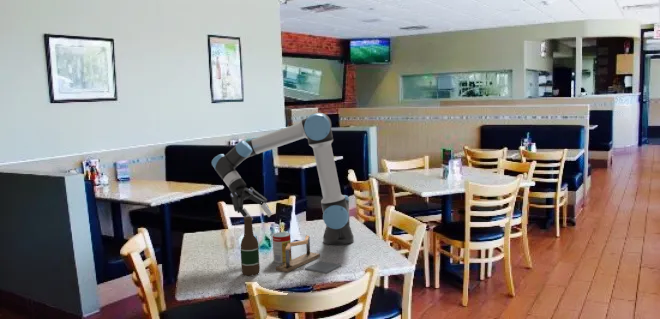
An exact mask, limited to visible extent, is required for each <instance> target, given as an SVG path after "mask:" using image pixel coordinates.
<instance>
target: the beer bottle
mask: <svg viewBox="0 0 660 319" xmlns="http://www.w3.org/2000/svg"><path fill="white" fill-rule="evenodd" d="M250 216H251V215H250ZM250 216H248V217H243V222H244V223H243V227H244V228H243V237H242V239H241V241H240V263H241V273H242V276H245V275H246V277H251V276H252V275H254V276H256V274H257V275H259V274H260V270H261V269H260V267H261V265H260V251H259V250H260V248H259V241H258V239H257V238H256V236H255V234H254V228H253V220H252V218H253V217H252V216H251V217H250ZM258 273H259V274H258ZM252 277H253V276H252Z"/></svg>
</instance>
